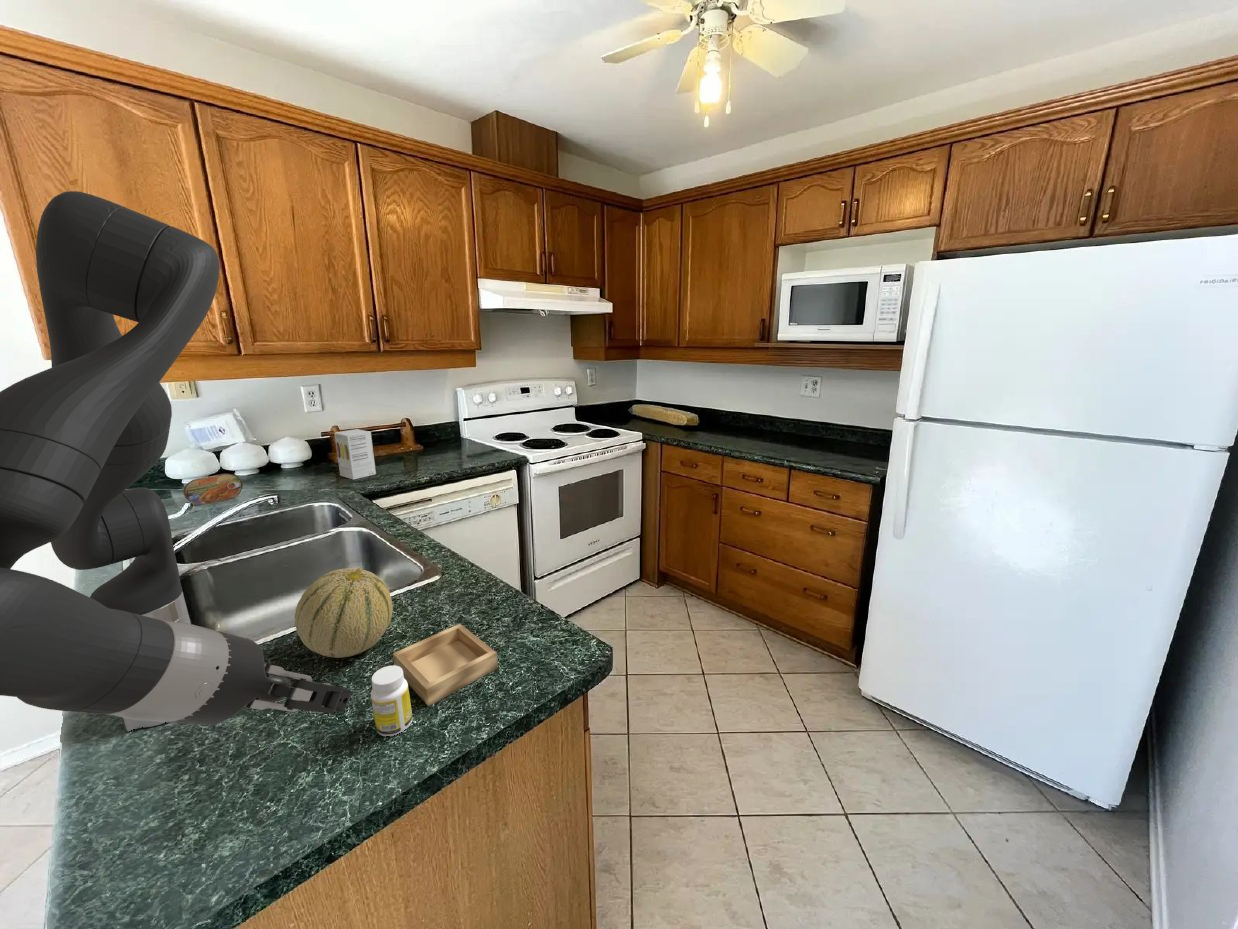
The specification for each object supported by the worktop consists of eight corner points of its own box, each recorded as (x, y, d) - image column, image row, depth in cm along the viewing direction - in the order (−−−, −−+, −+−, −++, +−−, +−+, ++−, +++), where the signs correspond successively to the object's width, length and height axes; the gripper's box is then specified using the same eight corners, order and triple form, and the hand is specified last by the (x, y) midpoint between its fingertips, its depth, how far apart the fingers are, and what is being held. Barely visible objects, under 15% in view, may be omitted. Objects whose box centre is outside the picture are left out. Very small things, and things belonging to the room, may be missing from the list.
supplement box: (339, 475, 190) (332, 432, 185) (362, 470, 197) (357, 428, 193) (353, 480, 185) (347, 435, 180) (377, 474, 192) (371, 431, 188)
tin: (188, 508, 156) (182, 482, 154) (185, 506, 158) (179, 480, 155) (245, 495, 167) (240, 471, 165) (242, 494, 169) (237, 470, 167)
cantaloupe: (296, 645, 89) (281, 568, 85) (383, 615, 98) (373, 545, 94) (311, 689, 78) (295, 604, 74) (408, 652, 87) (398, 574, 83)
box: (428, 706, 75) (426, 689, 74) (395, 669, 83) (392, 653, 82) (497, 668, 83) (496, 652, 82) (461, 638, 91) (459, 623, 90)
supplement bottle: (402, 707, 74) (395, 658, 72) (419, 723, 72) (412, 672, 69) (370, 726, 71) (362, 676, 69) (386, 743, 68) (378, 691, 66)
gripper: (272, 640, 43) (381, 669, 57) (149, 617, 47) (279, 650, 60) (225, 738, 40) (352, 743, 53) (95, 705, 43) (247, 718, 57)
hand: (314, 694), depth 57 cm, fingers open, 8 cm apart
